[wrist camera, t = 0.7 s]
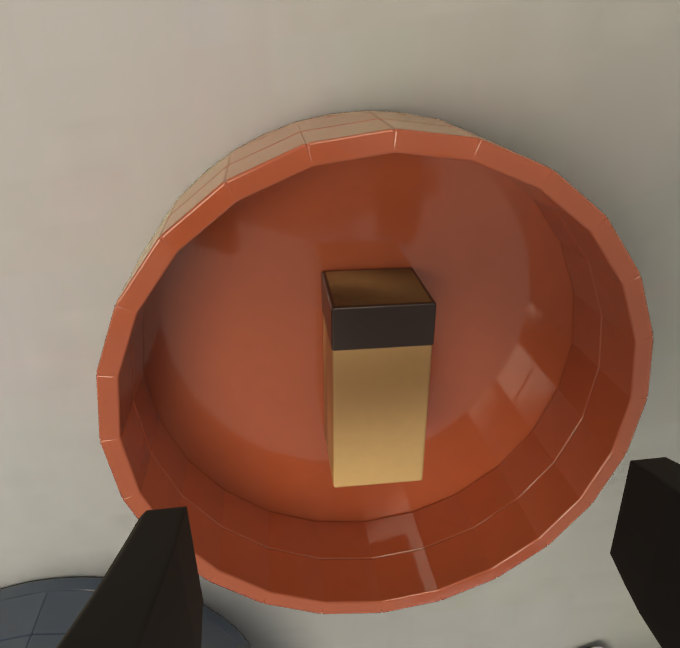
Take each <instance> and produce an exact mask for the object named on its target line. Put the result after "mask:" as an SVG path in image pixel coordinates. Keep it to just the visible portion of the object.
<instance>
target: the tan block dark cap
mask: <svg viewBox="0 0 680 648" xmlns="http://www.w3.org/2000/svg"><path fill="white" fill-rule="evenodd" d="M321 286H322V311H323V366H324V434H325V440H326V446H327V452H328V458H329V464H330V470H331V476H332V482H333V486H334V487H336V488H337V487H350V486H362V485H374V484H386V483H398V482H410V481H420V480H422V478H423V466H424V452H425V438H426V424H427V410H428V396H429V383H430V369H431V355H432V345H433V343H434V331H435V317H436V302H435V301H434V299H433V298H432V296H431V295H430V293H429V292H428V290H427V289H426V287H425V286H424V284H423V283H422V281H421V280H420V278H419V277H418V275H417V274H416V272H415V271H414V269H413V268H412V267H408V268H385V269H362V270H340V271H323V272H322V273H321Z"/></svg>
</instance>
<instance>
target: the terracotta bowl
mask: <svg viewBox="0 0 680 648" xmlns="http://www.w3.org/2000/svg"><path fill="white" fill-rule="evenodd" d="M408 267H412V268H413V269H414V271H415V272H416V274H417V275H418V277H419V278H420V280H421V281H422V283H423V284H424V286H425V287H426V289H427V290H428V292H429V293H430V295H431V296H432V298H433V299H434V301H435V302H436V317H435V331H434V343H433V345H432V355H431V369H430V383H429V396H428V410H427V424H426V438H425V452H424V466H423V478H422V480H420V481H410V482H398V483H386V484H374V485H362V486H350V487H337V488H336V487H334V486H333V482H332V476H331V470H330V464H329V458H328V452H327V446H326V440H325V434H324V366H323V311H322V286H321V273H322V272H323V271H340V270H362V269H385V268H408ZM652 336H653V331H652V327H651V322H650V317H649V312H648V307H647V302H646V298H645V293H644V288H643V283H642V278H641V276H640V272H639V271H638V269H637V267H636V265H635V264H634V262H633V260H632V259H631V257H630V255H629V253H628V252H627V250H626V248H625V246H624V245H623V243H622V241H621V240H620V238H619V236H618V234H617V233H616V231H615V229H614V228H613V226H612V224H611V222H610V221H609V219H608V218H607V217H606V215H605V214H604V213H603V212H601V211H600V210H599V209H598V208H597V207H596V206H595V205H593V204H592V203H591V202H590V201H589V200H588V199H587V198H585V197H584V196H583V195H582V194H581V193H580V192H579V191H577V190H576V189H575V188H574V187H573V186H572V185H571V184H569V183H568V182H567V181H566V180H565V179H564V178H563V177H561V176H560V175H559V174H558V173H557V172H556V171H554V170H552V169H551V168H550V167H547V166H545V165H543V164H541V163H538V162H536V161H534V160H532V159H529V158H527V157H525V156H523V155H520V154H518V153H516V152H514V151H512V150H509V149H507V148H505V147H503V146H500V145H498V144H496V143H494V142H491V141H489V140H487V139H484V138H482V137H480V136H477V135H475V134H473V133H470V132H468V131H466V130H464V129H461V128H459V127H456V126H454V125H452V124H449V123H447V122H445V121H442V120H438V119H436V118H428V117H422V116H417V115H411V114H406V113H401V112H385V111H355V112H344V113H333V114H327V115H323V116H319V117H314V118H310V119H306V120H302V121H297V122H294V123H292V124H289V125H287V126H284V127H281V128H279V129H276V130H274V131H271V132H268V133H266V134H263V135H261V136H260V137H258V138H256V139H254V140H252V141H251V142H249V143H247V144H245V145H243V146H242V147H240V148H238V149H236V150H234V151H233V152H231V153H230V154H229V155H227V156H226V157H225V158H223V159H222V160H221V161H219V162H218V163H217V164H215V165H214V166H213V167H211V168H210V169H209V170H207V171H206V172H205V173H204V174H203V175H202V176H201V177H200V178H199V179H198V180H197V181H196V182H195V183H194V184H193V185H192V186H191V187H190V188H189V189H188V190H187V191H186V192H185V193H184V194H183V195H182V196H180V197H179V199H178V200H177V201H176V202H175V203H174V205H173V207H172V208H171V210H170V211H169V213H168V214H167V216H166V217H165V218H164V220H163V221H162V223H161V224H160V226H159V228H158V230H157V231H156V233H155V234H154V236H153V238H152V239H151V241H150V242H149V244H148V245H147V247H146V248H145V250H144V251H143V253H142V255H141V257H140V259H139V260H138V262H137V264H136V266H135V268H134V270H133V272H132V274H131V276H130V277H129V279H128V281H127V283H126V285H125V287H124V289H123V290H122V292H121V294H120V296H119V298H118V300H117V302H116V304H115V307H114V310H113V314H112V318H111V321H110V325H109V328H108V332H107V336H106V339H105V343H104V347H103V350H102V354H101V357H100V361H99V365H98V368H97V375H96V380H97V399H98V419H99V438H100V443H101V445H102V448H103V450H104V453H105V455H106V458H107V461H108V463H109V466H110V468H111V471H112V473H113V476H114V479H115V481H116V484H117V486H118V489H119V492H120V494H121V497H122V498H123V500H124V502H125V503H126V504H127V505H128V507H129V508H130V509H131V510H132V512H133V513H134V514H135V515H136V517H137V518H138V519H139V518H140V516H141V515H142V514H143V513H144V512H145V511H146V510H155V509H165V508H174V507H184V506H187V510H188V516H189V522H190V528H191V533H192V539H193V545H194V551H195V557H196V563H197V568H198V574H199V575H200V576H202V577H203V578H205V579H206V580H209V581H210V582H212V583H214V584H217V585H219V586H222V587H224V588H226V589H229V590H231V591H234V592H236V593H239V594H241V595H243V596H246V597H248V598H251V599H253V600H256V601H258V602H260V603H264V604H269V605H274V606H280V607H285V608H291V609H297V610H302V611H308V612H313V613H319V614H320V613H322V614H347V613H381V611H382V612H388V611H393V610H398V609H403V608H408V607H413V606H417V605H422V604H427V603H432V602H437V601H440V599H441V600H444V599H446V598H449V597H451V596H454V595H456V594H459V593H461V592H464V591H466V590H469V589H471V588H474V587H476V586H479V585H481V584H483V583H486V582H488V581H491V580H493V579H495V578H496V577H499V576H501V575H503V574H504V573H506V572H507V571H509V570H510V569H512V568H514V567H515V566H517V565H518V564H520V563H521V562H523V561H525V560H526V559H528V558H529V557H531V556H533V555H534V554H536V553H537V552H539V551H540V550H542V549H544V548H545V547H547V545H549V544H550V543H551V542H552V541H553V540H555V539H556V538H557V537H558V536H559V535H560V534H561V533H562V532H563V531H564V530H565V529H566V528H567V527H568V526H569V525H570V524H571V523H572V522H574V521H575V520H576V519H577V518H578V517H579V516H580V515H581V514H582V513H583V512H584V511H585V510H586V509H587V508H588V507H589V506H590V505H591V503H593V502H594V500H595V499H596V497H597V496H598V494H599V493H600V492H601V490H602V489H603V487H604V486H605V484H606V483H607V481H608V480H609V478H610V477H611V476H612V474H613V473H614V471H615V470H616V468H617V467H618V465H619V464H620V462H621V461H622V459H623V458H624V457H625V453H627V451H628V448H629V445H630V443H631V440H632V438H633V435H634V432H635V430H636V427H637V424H638V422H639V419H640V417H641V414H642V411H643V409H644V406H645V403H646V401H647V396H648V390H649V379H650V369H651V359H652V348H653V337H652Z"/></svg>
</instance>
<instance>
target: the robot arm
mask: <svg viewBox="0 0 680 648" xmlns="http://www.w3.org/2000/svg"><path fill="white" fill-rule="evenodd" d="M610 554H611V556H612V558H613V560H614V562H615V565H616V567H617V569H618V571H619V573H620V575H621V577H622V579H623V581H624V584H625V586H626V588H627V590H628V591H629V593H630V595H631V597H632V599H633V601H634V603H635V605H636V607H637V609H638V611H639V613H640V614H641V616H642V618H643V619H644V621H645V622H646V624H647V626H648V627H649V629H650V630H651V632H652V633H653V635H654V636H655V638H656V639H657V641H658V643H659V644H660V646H661V647H662V648H680V464H678V463H676V462H674V461H672V460H670V459H668V458H666V457H662V458H653V459H643V460H633V461H630V466H629V470H628V475H627V479H626V484H625V488H624V493H623V497H622V502H621V506H620V511H619V516H618V520H617V525H616V529H615V534H614V538H613V543H612V547H611V552H610ZM202 617H203V597H202V592H201V586H200V580H199V574H198V568H197V563H196V557H195V551H194V545H193V539H192V533H191V528H190V522H189V516H188V510H187V506H184V507H174V508H165V509H155V510H146V511H145V512H144V513H143V514H142V515H141V516H140V518H139V520H138V521H137V523H136V525H135V527H134V528H133V530H132V532H131V533H130V535H129V537H128V538H127V540H126V542H125V543H124V545H123V547H122V548H121V550H120V552H119V553H118V555H117V557H116V558H115V560H114V562H113V563H112V565H111V566H110V568H109V569H108V571H107V573H106V574H105V576H104V577H103V579H102V580H101V582H100V584H99V585H98V587H97V588H96V590H95V591H94V593H93V594H92V596H91V597H90V599H89V600H88V602H87V603H86V605H85V606H84V608H83V609H82V610H81V612H80V613H79V615H78V616H77V618H76V619H75V621H74V622H73V624H72V625H71V627H70V628H69V630H68V631H67V633H66V634H65V635H64V637H63V638H62V640H61V641H60V643H59V644H58V645H57V647H56V648H201V641H202ZM592 648H603V647H601V646H595V647H592Z"/></svg>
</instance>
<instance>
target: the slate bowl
mask: <svg viewBox="0 0 680 648" xmlns="http://www.w3.org/2000/svg"><path fill="white" fill-rule="evenodd" d="M102 579H103V578H93V577H72V578H54V579H47V580H40V581H33V582H27V583H23V584H19V585H15V586H11V587H7V588H3V589H0V648H56V647H57V645H58V644H59V643H60V641H61V640H62V638H63V637H64V635H65V634H66V633H67V631H68V630H69V628H70V627H71V625H72V624H73V622H74V621H75V619H76V618H77V616H78V615H79V613H80V612H81V610H82V609H83V608H84V606H85V605H86V603H87V602H88V600H89V599H90V597H91V596H92V594H93V593H94V591H95V590H96V588H97V587H98V585H99V584H100V582H101V580H102ZM201 648H252V647H251V645H250V644H249V642H248V641H247V640H246V639H245V638H244V636H243V635H242V634H241V633H240V632H239V631H238V630H237V629H236V628H235V627H234V626H233V625H232V624H230V623H229V622H228V621H227V620H225V619H224V618H223V617H222V616H220V615H219V614H217V613H216V612H214V611H212V610H211V609H209V608H207V607H206V606H204V605H203V617H202V641H201Z"/></svg>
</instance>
